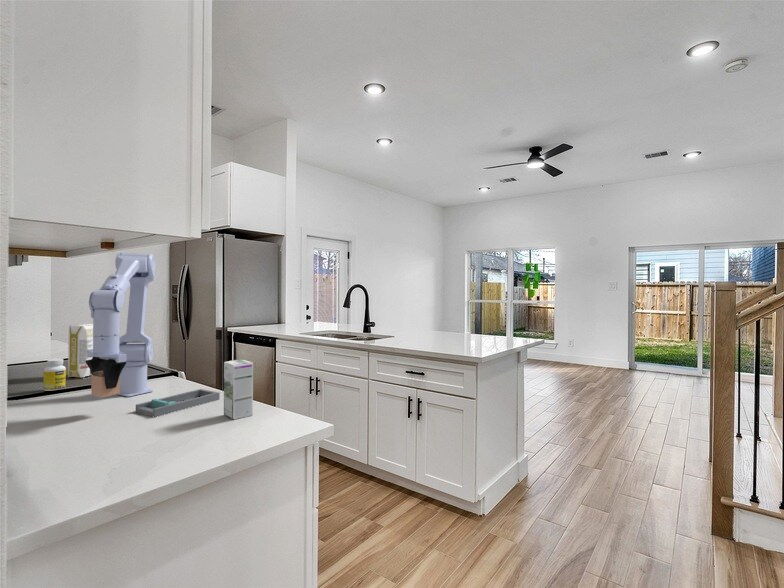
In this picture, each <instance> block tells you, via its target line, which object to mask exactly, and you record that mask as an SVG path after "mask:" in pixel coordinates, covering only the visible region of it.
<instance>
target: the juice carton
mask: <svg viewBox="0 0 784 588" xmlns="http://www.w3.org/2000/svg"><path fill="white" fill-rule="evenodd" d="M67 349H68V354H67V357H68V359H67V361H68V362H67V364H68V365H67V366H68V367H67V371H68V372H67V373H68V376H67V377H69V376H75V377H85V376H89V375H92V373H91V370H90V368H89V367H88V365H87V364H86V360H91V359H92V357H87V350H92V349H93V323H83V324H78V325H77V324H73V325H72V324H71V325H68V347H67Z"/></svg>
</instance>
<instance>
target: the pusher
mask: <svg viewBox="0 0 784 588" xmlns="http://www.w3.org/2000/svg"><path fill="white" fill-rule="evenodd" d="M158 399H159V398H158ZM158 399H157V398H154V399H151V401H152V407H151V408H152V409H155V408H159V407H163V406H166V405H170V404H174V403H178V402H175V401H171V402H166V401H162V400H158Z"/></svg>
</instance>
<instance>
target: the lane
mask: <svg viewBox="0 0 784 588" xmlns="http://www.w3.org/2000/svg"><path fill="white" fill-rule="evenodd" d="M199 396H201V397H199ZM220 396H221V395H220V392H219V391H213V390H210V389H209V390H208V389H202V388H200V389H193V390H191V391H187V392H182V393H179V394H178V393H177V394H175V395H174V394H173V395H170V396H165V397H163V398H158V400H162V401H166V402H171V401H175V402H178V403H174V404H170V405H166V406H163V407H159V408H155V409H152V408H151V407H152V400H150V401H149V400H148V401H145V402H141V403H136V404H135V413H137V412H138V414H141V413H142V415H145V414H146V416H149V415H150V416H149V417H152V416H154V417H153V418H158V417H160V416H164V414H165V415H168V413H169V414H172V413H175V412H174V411H176V412H178V410H179V411H182V410H181V409H183V410H185V408H186V409H189V408H188V407H190V408H193V407H192V406H194V407H197V406H200V405H199V404H201V405H204V404H208V403H211V402H215V401H218V400H220ZM195 397H196V398H195ZM191 398H192V399H191ZM187 399H188V400H187ZM183 400H184V401H183ZM179 401H180V402H179ZM210 401H211V402H210ZM207 402H208V403H207ZM203 403H204V404H203ZM196 405H197V406H196ZM171 412H172V413H171ZM157 416H158V417H157Z"/></svg>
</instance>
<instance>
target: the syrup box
mask: <svg viewBox="0 0 784 588" xmlns="http://www.w3.org/2000/svg"><path fill="white" fill-rule="evenodd" d="M223 415H224V416H226V417H227V418H229V419H231V420H233V419H234V420H239V419H238V418H240V419H243V417H244V418H247V417H253V415H254V363H253V361H248V360H245V359H234V360H229V361H224V362H223Z"/></svg>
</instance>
